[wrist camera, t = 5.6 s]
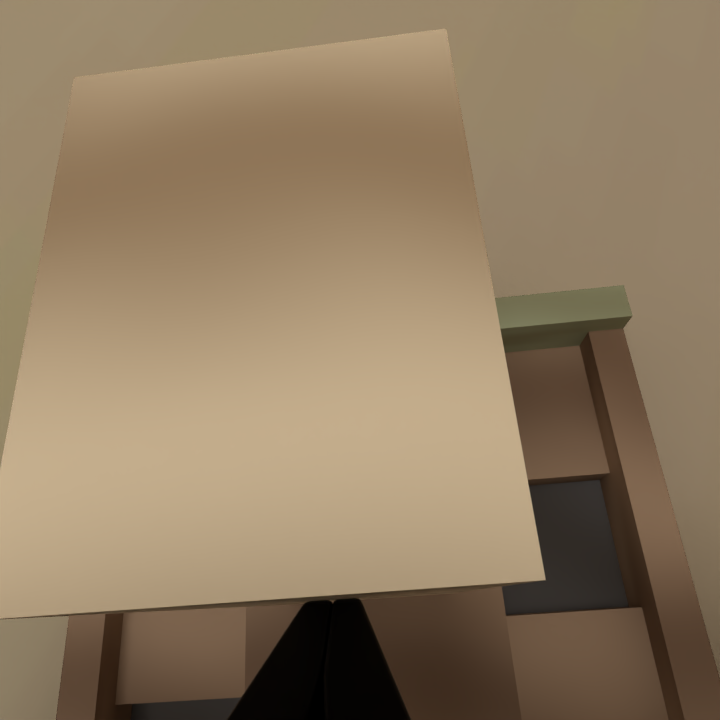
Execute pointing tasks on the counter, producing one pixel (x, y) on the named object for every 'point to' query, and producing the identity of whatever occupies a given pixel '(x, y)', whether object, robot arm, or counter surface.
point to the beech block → (263, 346)
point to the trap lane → (492, 605)
